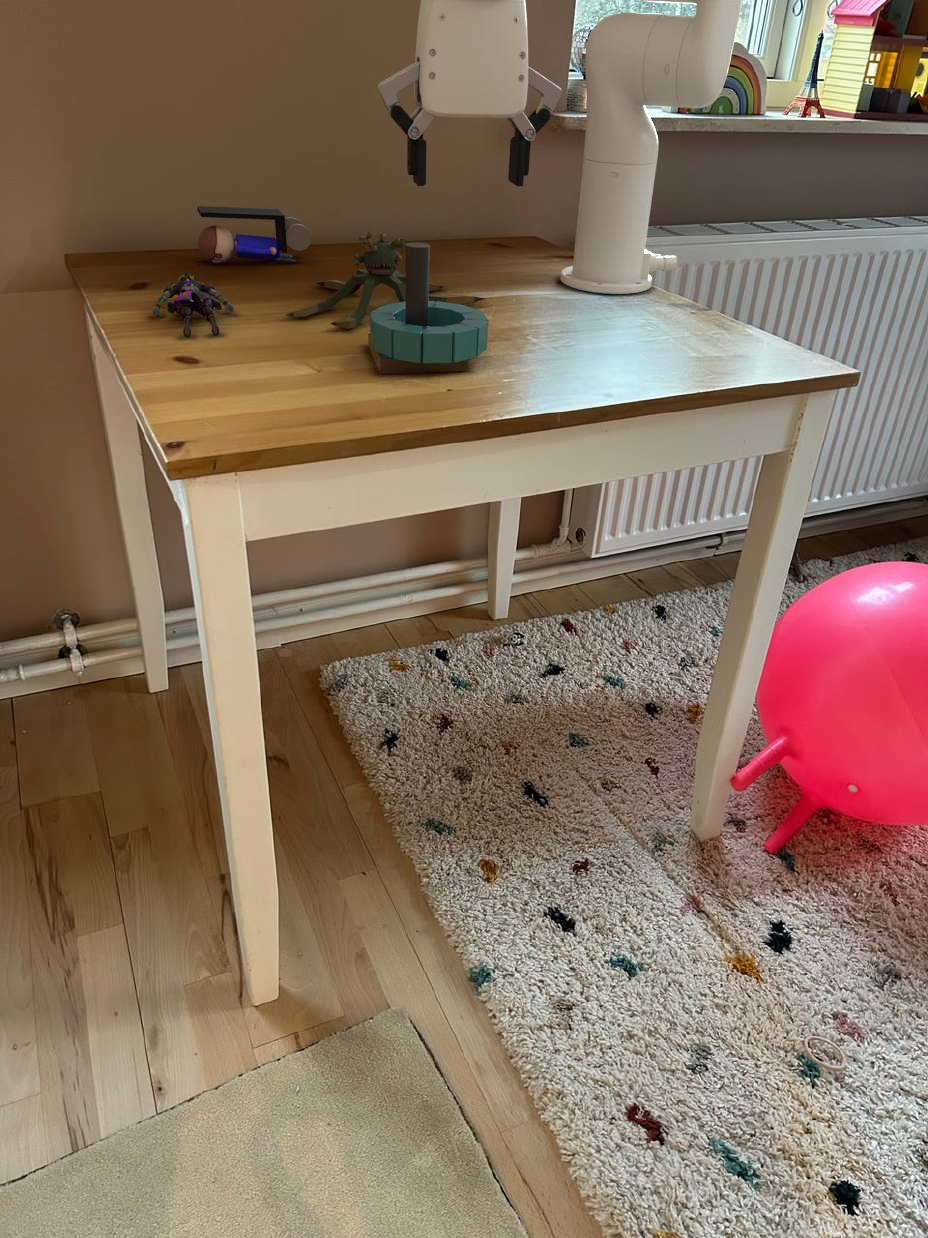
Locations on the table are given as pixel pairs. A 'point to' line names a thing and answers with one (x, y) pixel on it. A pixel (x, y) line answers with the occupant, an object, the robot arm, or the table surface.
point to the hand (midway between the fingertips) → (467, 183)
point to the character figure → (192, 302)
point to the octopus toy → (373, 281)
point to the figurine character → (221, 244)
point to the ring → (429, 333)
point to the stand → (415, 314)
